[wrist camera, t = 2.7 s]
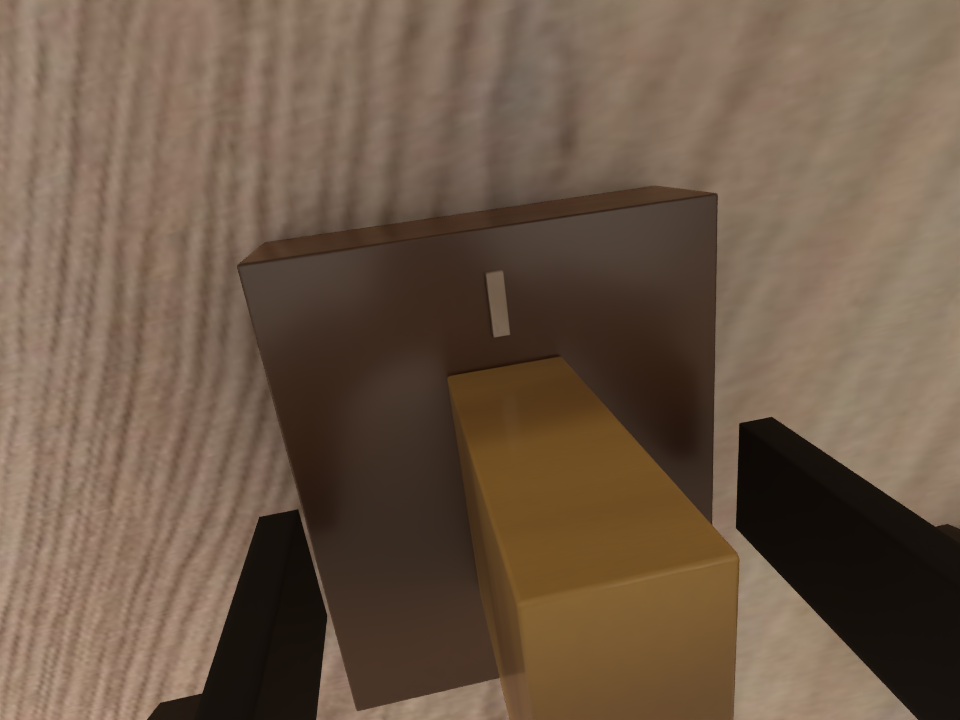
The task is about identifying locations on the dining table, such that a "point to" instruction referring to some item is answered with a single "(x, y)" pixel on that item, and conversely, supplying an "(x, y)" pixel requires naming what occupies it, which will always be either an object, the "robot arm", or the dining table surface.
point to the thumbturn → (589, 557)
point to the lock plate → (457, 350)
